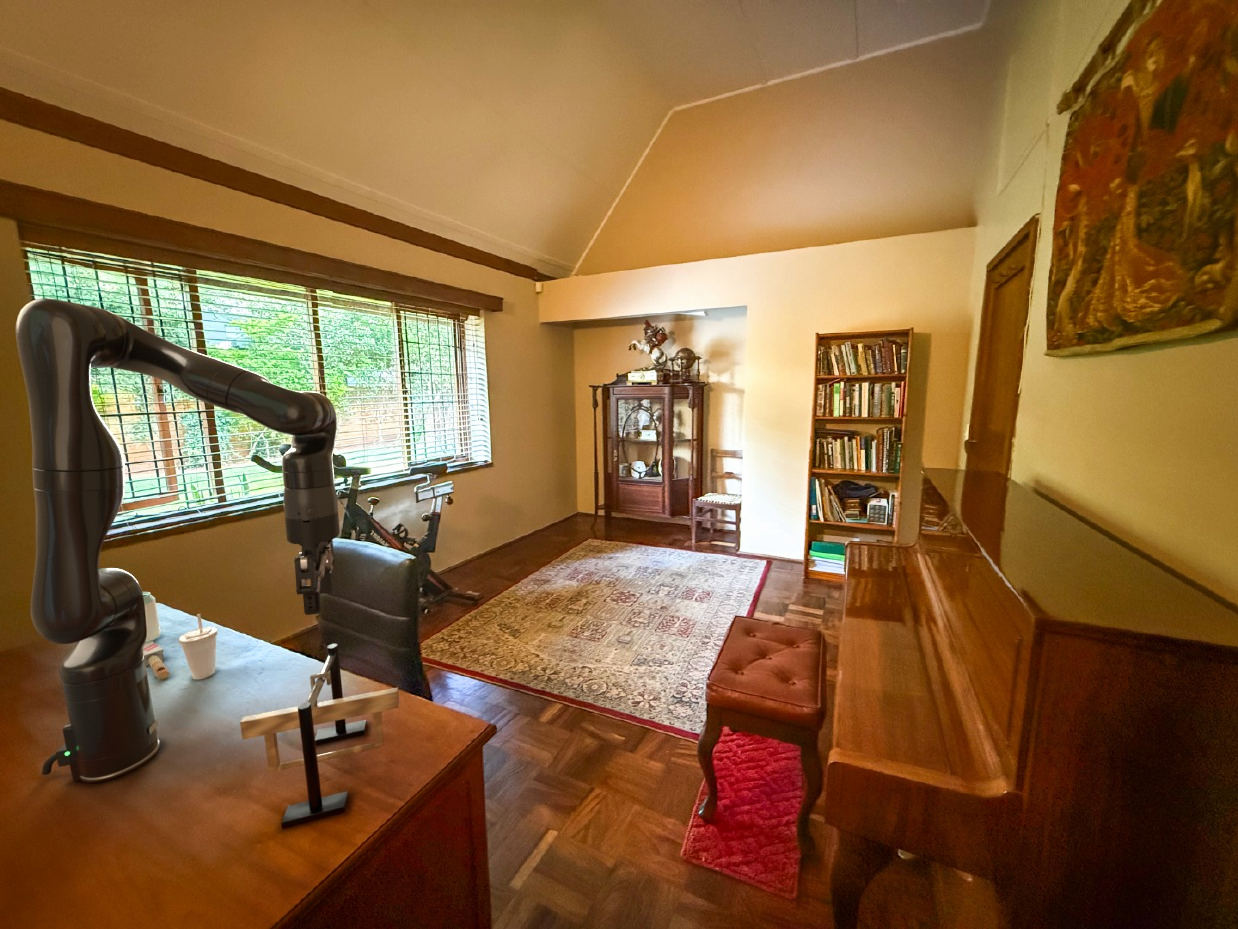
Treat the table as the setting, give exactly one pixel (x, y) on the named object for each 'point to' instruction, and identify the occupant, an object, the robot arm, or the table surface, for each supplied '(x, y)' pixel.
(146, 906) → the table surface
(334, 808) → the rail stand
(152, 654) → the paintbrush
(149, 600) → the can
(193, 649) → the smoothie
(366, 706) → the hanger
